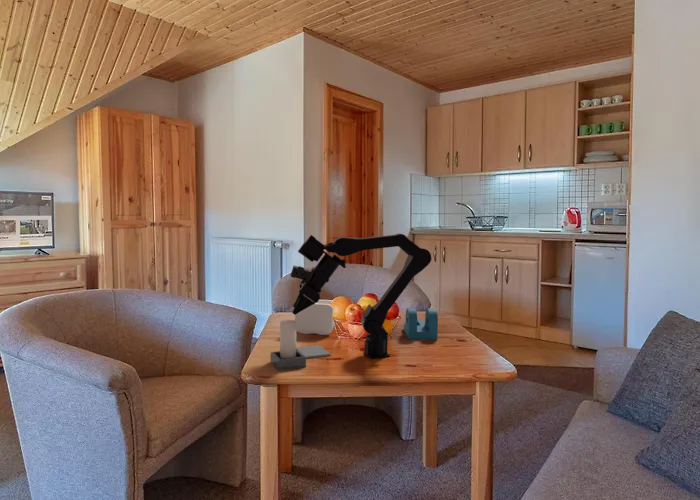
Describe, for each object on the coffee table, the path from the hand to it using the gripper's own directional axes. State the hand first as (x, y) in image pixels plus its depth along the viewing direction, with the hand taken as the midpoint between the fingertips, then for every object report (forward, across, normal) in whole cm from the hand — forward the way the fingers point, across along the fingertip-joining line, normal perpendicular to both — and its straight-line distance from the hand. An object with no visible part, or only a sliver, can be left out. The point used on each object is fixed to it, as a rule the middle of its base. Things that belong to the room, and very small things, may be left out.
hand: (293, 310), depth 146 cm
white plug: (+13, +8, +8) cm, 17 cm away
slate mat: (+9, -3, +13) cm, 16 cm away
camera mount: (-16, -26, +47) cm, 56 cm away
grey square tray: (+13, +8, +8) cm, 17 cm away
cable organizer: (+8, -30, +15) cm, 35 cm away
